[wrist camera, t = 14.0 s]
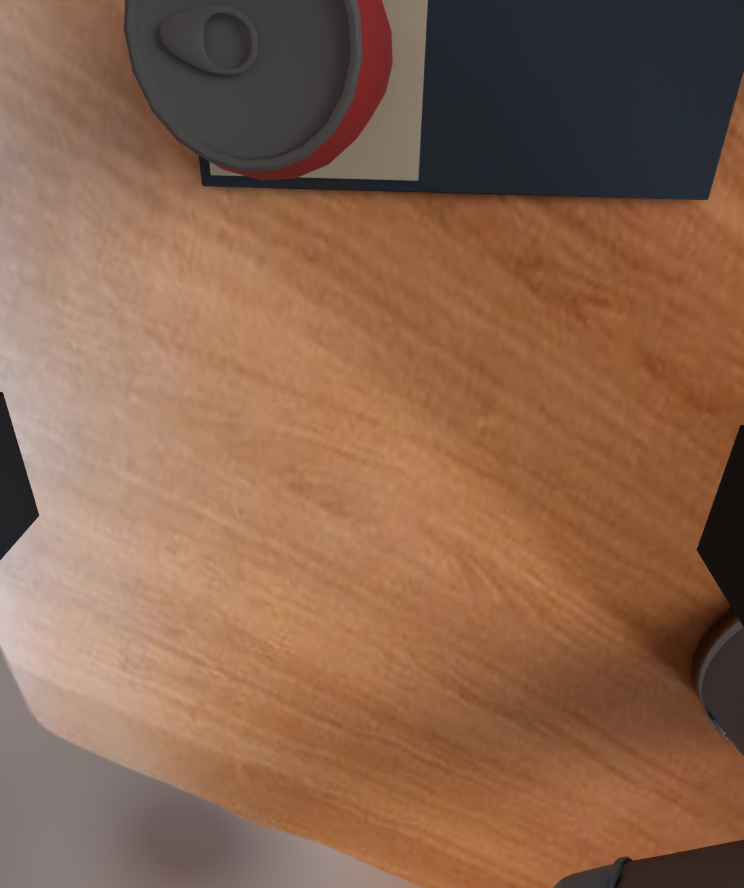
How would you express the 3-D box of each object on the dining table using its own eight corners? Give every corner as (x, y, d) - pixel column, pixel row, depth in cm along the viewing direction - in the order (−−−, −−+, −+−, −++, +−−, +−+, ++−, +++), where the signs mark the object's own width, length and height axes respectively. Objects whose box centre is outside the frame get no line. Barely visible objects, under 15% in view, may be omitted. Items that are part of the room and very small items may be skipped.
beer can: (225, -62, 23) (80, -167, 13) (403, -41, 23) (401, -128, 13) (228, 136, 27) (115, 179, 16) (383, 154, 27) (369, 208, 16)
